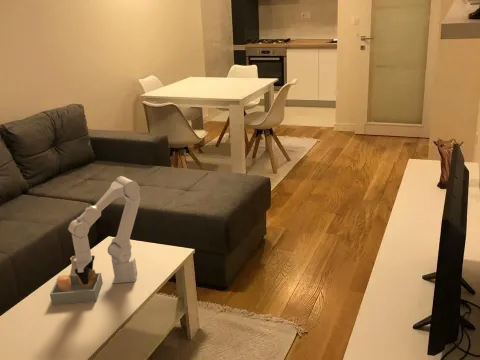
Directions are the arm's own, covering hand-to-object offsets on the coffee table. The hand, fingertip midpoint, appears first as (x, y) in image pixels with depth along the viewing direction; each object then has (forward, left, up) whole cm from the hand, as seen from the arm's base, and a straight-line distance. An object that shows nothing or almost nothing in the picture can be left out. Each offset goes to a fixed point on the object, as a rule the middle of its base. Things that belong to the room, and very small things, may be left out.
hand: (87, 278), depth 210 cm
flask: (+8, -13, -7) cm, 16 cm away
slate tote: (+5, 0, -7) cm, 8 cm away
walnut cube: (0, 0, -2) cm, 2 cm away
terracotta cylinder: (+10, 0, -6) cm, 11 cm away
